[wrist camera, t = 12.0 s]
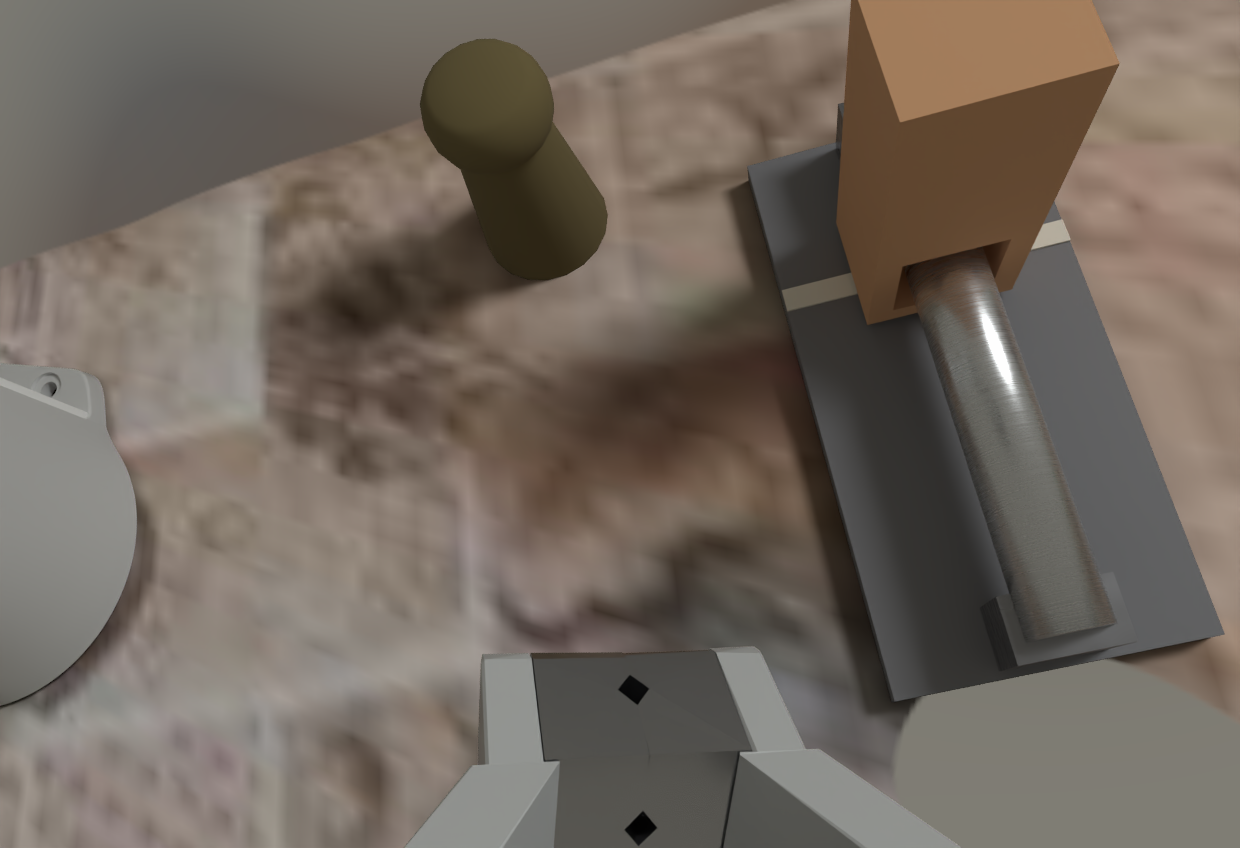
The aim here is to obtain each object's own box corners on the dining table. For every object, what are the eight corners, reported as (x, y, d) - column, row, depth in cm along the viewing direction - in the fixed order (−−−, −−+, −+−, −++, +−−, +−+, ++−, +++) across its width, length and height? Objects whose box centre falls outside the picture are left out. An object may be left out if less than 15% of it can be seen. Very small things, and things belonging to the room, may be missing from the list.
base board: (1211, 637, 36) (1225, 634, 35) (891, 702, 37) (894, 701, 36) (1007, 111, 44) (1012, 93, 43) (748, 180, 45) (747, 164, 44)
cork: (470, 268, 47) (375, 137, 36) (507, 160, 48) (426, 4, 38) (587, 290, 45) (524, 160, 35) (622, 177, 47) (570, 20, 36)
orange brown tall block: (1012, 289, 40) (1119, 63, 26) (867, 324, 40) (900, 122, 27) (974, 186, 41) (1058, -76, 28) (836, 222, 42) (852, -17, 29)
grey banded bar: (1109, 649, 36) (1155, 636, 31) (999, 671, 36) (1028, 662, 31) (924, 124, 43) (939, 51, 39) (835, 148, 44) (839, 79, 39)
